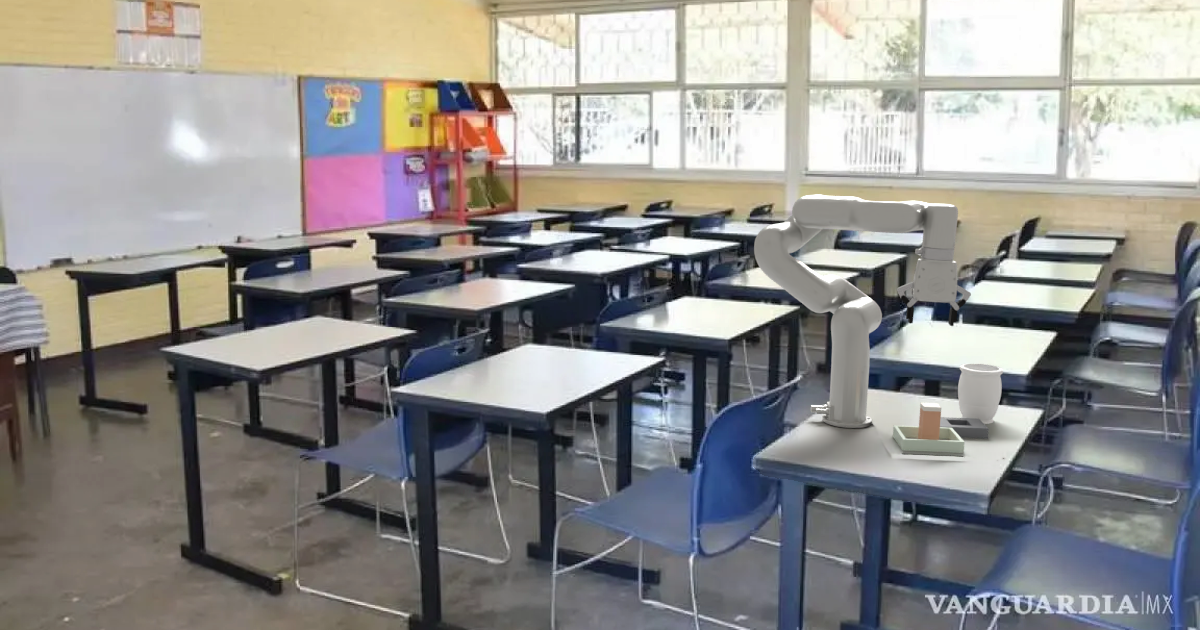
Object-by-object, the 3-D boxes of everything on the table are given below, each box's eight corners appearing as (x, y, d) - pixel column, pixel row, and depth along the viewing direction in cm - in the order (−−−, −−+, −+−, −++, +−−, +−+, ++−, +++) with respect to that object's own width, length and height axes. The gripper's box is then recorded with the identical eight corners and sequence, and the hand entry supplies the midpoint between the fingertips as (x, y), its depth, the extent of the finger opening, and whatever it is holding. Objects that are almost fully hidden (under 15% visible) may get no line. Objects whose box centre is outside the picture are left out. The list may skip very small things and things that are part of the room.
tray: (902, 454, 242) (903, 439, 242) (892, 439, 254) (893, 425, 254) (963, 456, 241) (964, 441, 241) (950, 441, 253) (952, 427, 252)
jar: (992, 418, 275) (997, 363, 272) (1003, 429, 265) (1008, 372, 262) (951, 417, 276) (955, 362, 273) (960, 427, 266) (965, 370, 263)
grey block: (937, 440, 254) (938, 426, 254) (929, 430, 263) (930, 416, 262) (987, 442, 253) (988, 428, 253) (977, 432, 262) (978, 418, 261)
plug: (921, 447, 246) (923, 406, 244) (917, 442, 250) (920, 402, 248) (938, 448, 245) (941, 407, 244) (934, 443, 249) (937, 403, 248)
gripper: (902, 254, 249) (896, 324, 252) (977, 258, 246) (969, 329, 249) (898, 250, 256) (892, 318, 259) (971, 255, 254) (964, 323, 257)
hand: (930, 323), depth 254 cm, fingers open, 9 cm apart
